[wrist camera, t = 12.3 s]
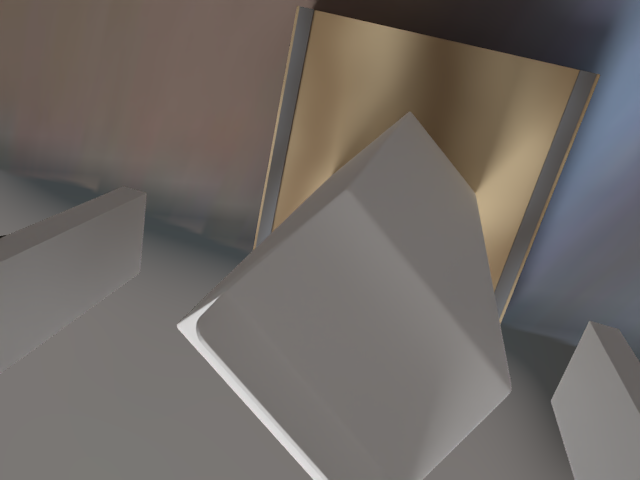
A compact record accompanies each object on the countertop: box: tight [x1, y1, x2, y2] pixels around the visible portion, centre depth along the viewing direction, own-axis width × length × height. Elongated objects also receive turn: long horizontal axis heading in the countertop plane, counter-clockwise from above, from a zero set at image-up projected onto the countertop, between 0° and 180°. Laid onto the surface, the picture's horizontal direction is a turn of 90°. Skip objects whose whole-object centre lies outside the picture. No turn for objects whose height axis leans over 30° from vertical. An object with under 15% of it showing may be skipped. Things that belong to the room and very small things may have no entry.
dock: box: [253, 6, 600, 323], centre depth 31 cm, size 16×16×3 cm
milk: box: [177, 112, 511, 480], centre depth 20 cm, size 6×6×22 cm
